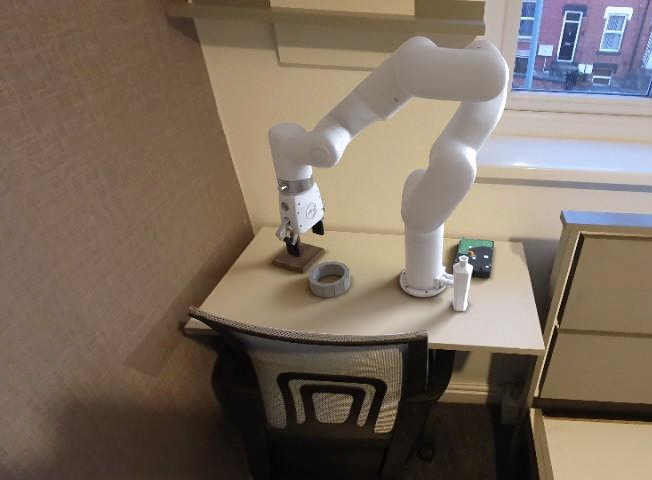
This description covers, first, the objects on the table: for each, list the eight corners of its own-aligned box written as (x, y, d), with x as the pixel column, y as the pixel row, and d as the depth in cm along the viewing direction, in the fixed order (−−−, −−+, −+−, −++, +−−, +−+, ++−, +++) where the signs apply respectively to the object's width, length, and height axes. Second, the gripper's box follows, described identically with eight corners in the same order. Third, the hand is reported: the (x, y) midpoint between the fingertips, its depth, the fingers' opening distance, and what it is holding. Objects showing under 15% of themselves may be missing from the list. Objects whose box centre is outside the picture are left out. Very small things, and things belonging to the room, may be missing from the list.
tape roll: (357, 277, 106) (356, 266, 104) (337, 301, 98) (335, 290, 96) (325, 268, 108) (323, 257, 106) (302, 291, 100) (300, 280, 98)
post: (325, 252, 114) (320, 226, 109) (303, 273, 106) (297, 246, 101) (295, 244, 116) (289, 218, 111) (272, 264, 109) (265, 237, 103)
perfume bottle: (471, 311, 97) (476, 263, 89) (454, 313, 96) (457, 265, 88) (466, 298, 101) (470, 251, 92) (449, 300, 100) (452, 253, 91)
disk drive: (490, 279, 107) (493, 247, 119) (491, 271, 106) (494, 240, 118) (452, 274, 108) (459, 243, 120) (453, 267, 107) (459, 235, 119)
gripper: (284, 202, 80) (298, 268, 90) (332, 169, 93) (339, 229, 103) (254, 194, 82) (270, 260, 91) (305, 163, 95) (314, 223, 105)
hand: (307, 244), depth 97 cm, fingers open, 9 cm apart
